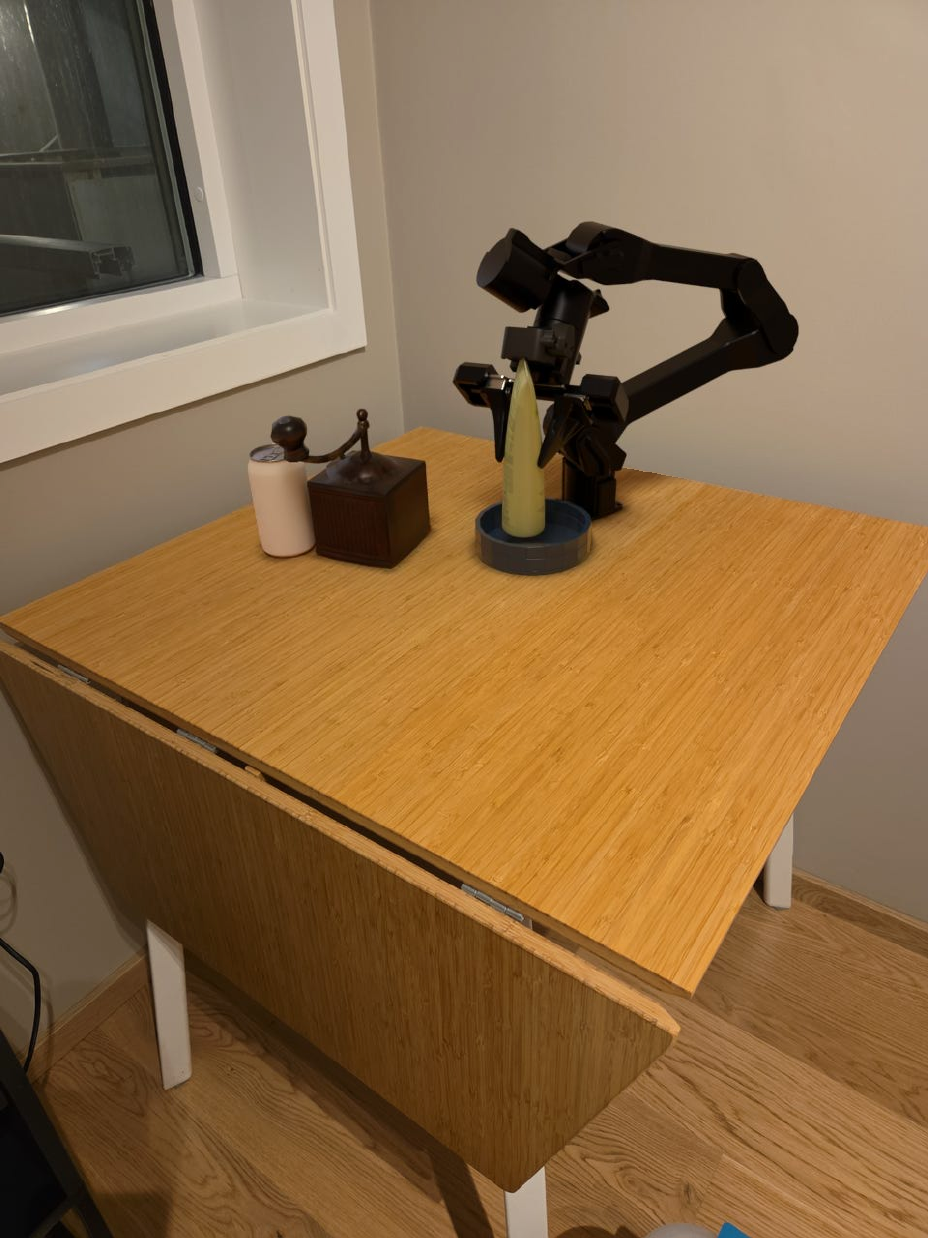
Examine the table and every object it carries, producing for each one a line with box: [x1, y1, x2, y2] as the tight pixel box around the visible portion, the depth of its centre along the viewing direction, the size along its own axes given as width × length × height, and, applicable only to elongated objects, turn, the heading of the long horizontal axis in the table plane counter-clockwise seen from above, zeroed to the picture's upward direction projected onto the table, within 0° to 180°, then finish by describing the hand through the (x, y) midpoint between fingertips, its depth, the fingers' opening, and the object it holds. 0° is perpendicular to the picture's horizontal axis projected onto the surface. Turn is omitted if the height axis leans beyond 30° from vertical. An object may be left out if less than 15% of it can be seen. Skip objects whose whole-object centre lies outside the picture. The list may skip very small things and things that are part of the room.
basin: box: [474, 496, 592, 576], centre depth 104 cm, size 13×13×4 cm
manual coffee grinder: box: [270, 408, 432, 569], centre depth 101 cm, size 16×11×18 cm
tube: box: [501, 358, 546, 538], centre depth 97 cm, size 6×5×20 cm
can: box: [247, 442, 316, 559], centre depth 105 cm, size 6×6×12 cm
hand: (518, 464), depth 97 cm, fingers closed on tube, 4 cm apart
